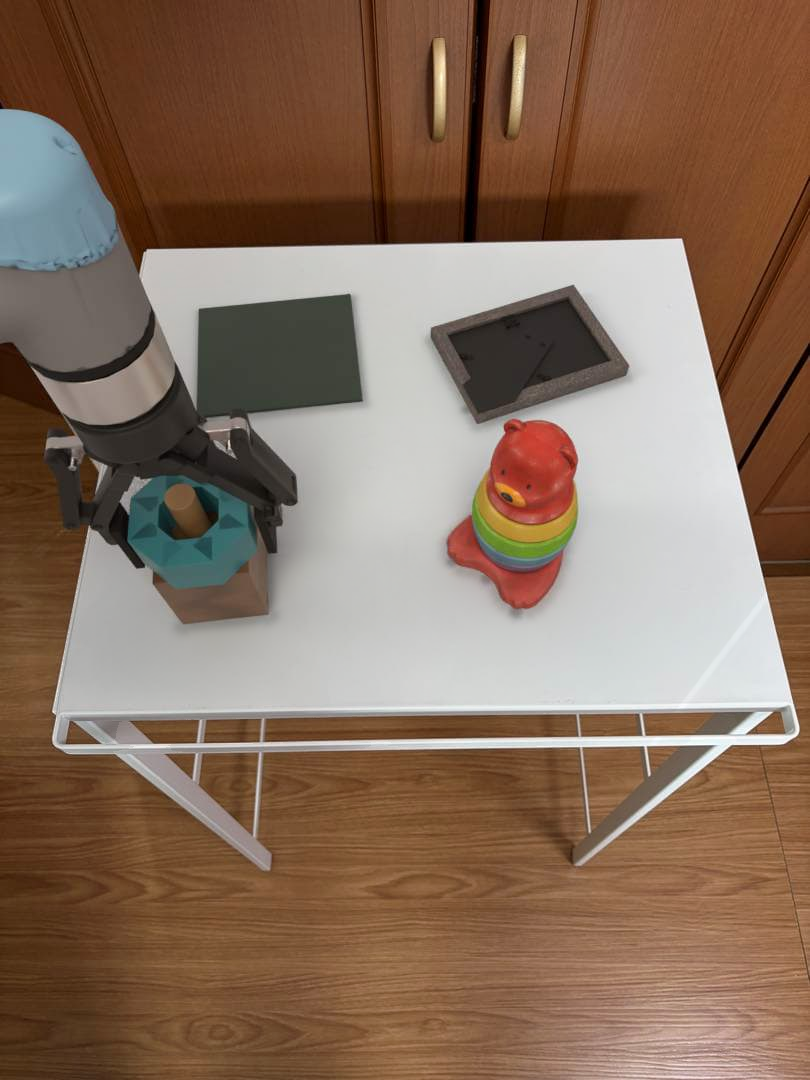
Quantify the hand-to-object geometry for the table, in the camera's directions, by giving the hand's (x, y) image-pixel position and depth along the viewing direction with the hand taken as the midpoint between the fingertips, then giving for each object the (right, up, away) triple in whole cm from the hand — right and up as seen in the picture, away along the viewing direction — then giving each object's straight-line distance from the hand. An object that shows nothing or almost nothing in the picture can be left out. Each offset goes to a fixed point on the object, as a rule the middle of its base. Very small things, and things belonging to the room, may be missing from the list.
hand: (207, 547), depth 65 cm
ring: (0, +1, -2) cm, 2 cm away
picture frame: (+31, +21, +19) cm, 42 cm away
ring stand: (0, -3, +6) cm, 7 cm away
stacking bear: (+28, 0, +7) cm, 29 cm away
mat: (+3, +22, +20) cm, 29 cm away
